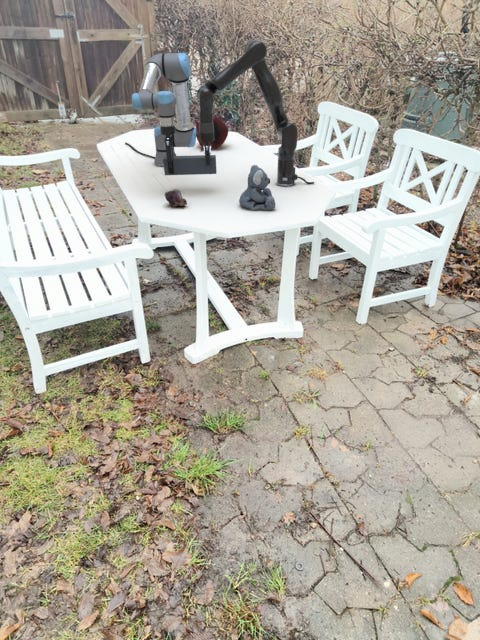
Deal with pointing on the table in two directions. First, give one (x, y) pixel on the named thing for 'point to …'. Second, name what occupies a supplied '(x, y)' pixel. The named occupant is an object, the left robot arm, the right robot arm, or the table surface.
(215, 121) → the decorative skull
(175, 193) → the rock
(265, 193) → the koala plush
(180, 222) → the table surface
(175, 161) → the bar
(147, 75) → the left robot arm
